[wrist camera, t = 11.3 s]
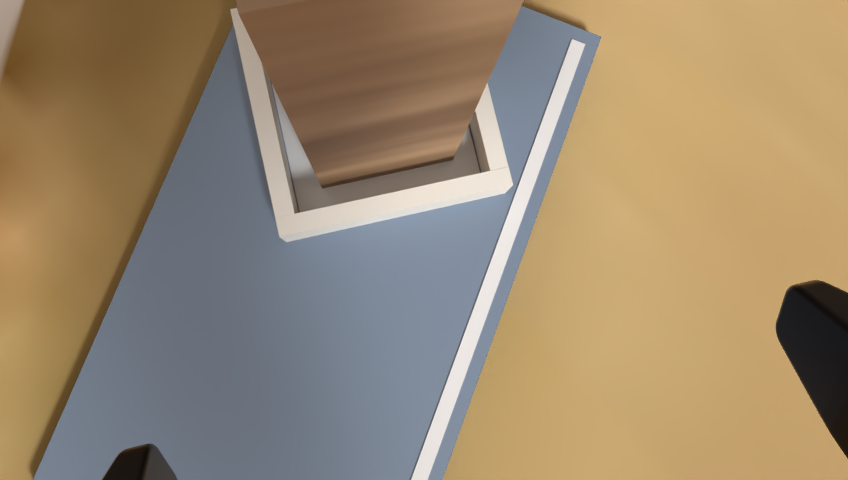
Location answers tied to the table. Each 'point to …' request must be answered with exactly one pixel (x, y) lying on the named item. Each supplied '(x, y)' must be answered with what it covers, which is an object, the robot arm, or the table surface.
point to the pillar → (378, 76)
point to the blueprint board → (319, 286)
